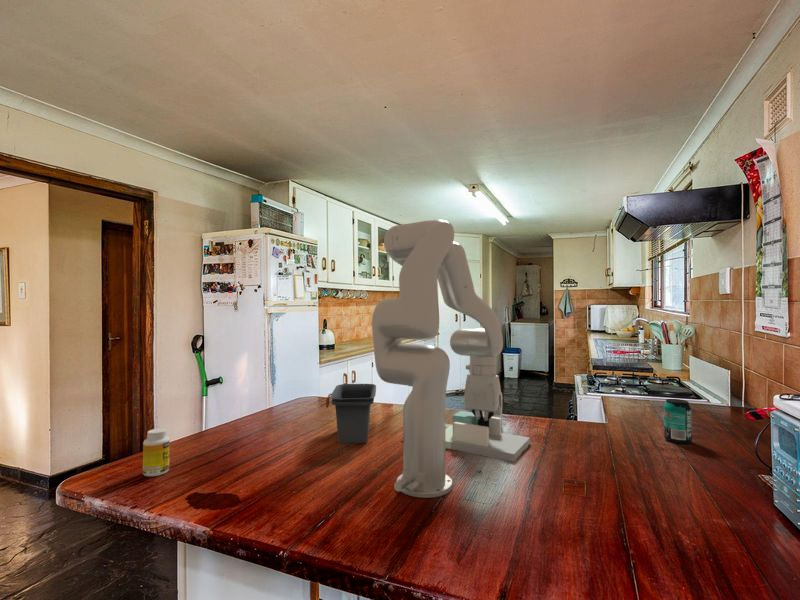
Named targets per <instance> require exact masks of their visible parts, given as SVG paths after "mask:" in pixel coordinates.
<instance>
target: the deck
mask: <svg viewBox="0 0 800 600" xmlns="http://www.w3.org/2000/svg"><path fill="white" fill-rule="evenodd" d="M483 417H484V415H483ZM529 444H530V445H531V437H527V436H523V435H516V434H509V433H503V432H502V428H501V418H498V417H491V418H490V419H489V427H485V426H479V425H473V424H466V423H460V422H454V435H453V424H450V423H445V447H446V450H447V449H448V450H453V451H457V450H458V451H459V452H462V453H468V454H472V455H478V456H483V457H487V456H488V458H493V459H498V460H503V461H509V462H512V461H513V462H514V461H515V462H516V461H517V460H518V459H519V458H520V457H521V455H522V454H523V453H524V452H525V451H524V450H527V448H529V446H530V445H529ZM528 445H529V446H528ZM523 451H524V452H523ZM522 452H523V453H522ZM521 453H522V454H521ZM513 462H512V463H513Z"/></svg>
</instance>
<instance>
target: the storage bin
mask: <svg viewBox="0 0 800 600" xmlns="http://www.w3.org/2000/svg"><path fill="white" fill-rule="evenodd" d="M376 393H377V385H376V384H374V383H341V384H338V385H336V386H335V387H334V389H333V391H332V392H331V393H329V394H328V396H327V397H326V399H325V408H326V409H328V407H329V406H330V404H331V405H333V406H334V408H335V417H336V418H335V419H336V427H337V430H336V431H337V441H338V443H340V444H366V443H368V440H369V439H368V438H369V430H370V419H371V418H370V417H371V406H372V405H373V404H374V401H375V397H376ZM330 399H331V403H330Z"/></svg>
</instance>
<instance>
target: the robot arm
mask: <svg viewBox="0 0 800 600" xmlns="http://www.w3.org/2000/svg"><path fill="white" fill-rule="evenodd" d="M454 240H455V229H454V226H453V224H452V223H451V222H449V221H448V220H444V219H429V220H422V221H416V222H410V223H403V224H402V223H401V224H396V225H394V226H391V227H390V228H389V229H388V230H387V231H386V232H385V235H384V237H383V245H384V249H385V251H386V254H387V255H388V257H389V258H390V259H392V260H393V262H395V263H396V264H398V265H400V266H401V268H400V271H399V275H398V286H399V287H398V289H399V291H398V292H399V297H388V298H385V299H383V300H381V301H379V302H378V303H377V304H376V306H375V308H374V309H373V313H372V318H371V331H372V342H373V344H372V345H373V351H374V352H373V353H374V362H375V369H376V373H377V375H378V377H379V378H380V380H381V381H383V382H385V383H387V384H392V385H402V386H408V387H412V389H411V391H410V393H409V394H408V396H407V397H406V399H405V401H404V404H403V410H402V417H403V418H402V419H403V420H402V421H403V422H402V423H403V424H402V425H403V429H402V430H403V432H402V440H403V446H402V447H403V448H402V450H403V452H402V453H403V459H402V460H403V463H402V464H403V467H402V468H403V469H402V473H401V474H400V475H399V476H398V477H397V478H396V482H394V485H393V487H394V490H395V491H396V492H397V493H398V492H401V493H403V494H405V495H406V496H407V495H408V496H411V497H414V498H423V499H429V498H430V499H431V498H437V497H441V496H445V495H446V494H448V493H449V492H451V491H452V490H453V480H452V478H451V477H450V476H449V475H448V474H446V473H447V471H446V469H447V468H446V466H447V465H446V460H447V459H446V450H447V448H446V447H445V424H446V400H447V399H446V398H447V386H448V381H449V375H450V367H451V362H450V358H449V355H448V354H447V352H446V351H445V350H443V348H441V347H438V346H435V345H431V344H430V345H429V344H418V343H417V344H416V343H415V344H413V343H412V344H411V343H402V340H415V341H416V340H417V341H418V340H421V341H423V340H425V341H426V340H430V339H432V338H435V337H436V336H437V335H438V333H439V330H440V310H439V309H440V308H439V293H438V292H439V291H438V285H439V288H440V292H441V296H442V299H443V301H444V304H445V305H446V306H447V307H448V308H451V309H452V310H454V311H456V312H459V313H461V314H463V315H466V316H468V317H470V318H471V319H473V320H474V321H476V322H477V323H479V324H480V326H481V327H476V328H460V329H456V330H455V331H454V332H453V333H452V334H451V335H450V339H449V345H450V348H451V350H452V351H453V353H455V354H456V355H460V356H466V357H469V363H468V364H466V365H465V370H468V371H469V373H468V374H466V380H465V384H464V386H465V387H464V396H463V397H464V399H463V400H464V407H465V410H466V412H472V413H473V414H474V415H475V416H476V419H477V420H478V425H479V426H485V427H489V419H490V418H491V417H492V416H496V415H500V414H502V415H503V410H502V411H501V405H502V406H503V398H502V399H501V393H502V390H501V388H502V387H501V383H500V378H499V375H497V356H499V355H500V354H501V352H502V351H503V347H504V338H503V333H502V329H501V325H500V320H499V318H498V316H497V314H496V312H495V311H494V310H493V309H492V307H490V305H489V304H488V303H487V302H486V301H485V300H483V299H482V297H479V295H477V293H476V290H475V288H474V287H475V286H474V283H473V277H472V275H471V271H470V267H469V262H468V259H467V254H466V251H465V248H464V247H463V246H462V245H461V243H458V242H456V241H454ZM483 411H485V412H484V417H483Z"/></svg>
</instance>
